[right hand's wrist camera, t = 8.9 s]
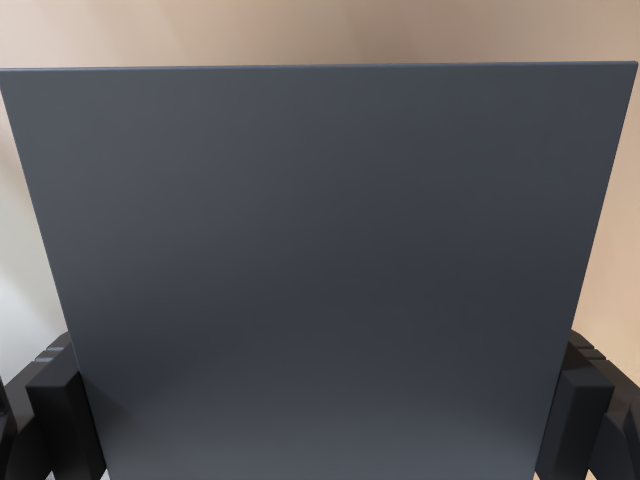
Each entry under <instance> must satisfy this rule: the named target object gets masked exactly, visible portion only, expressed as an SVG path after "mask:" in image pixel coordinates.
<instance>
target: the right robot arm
mask: <svg viewBox="0 0 640 480" xmlns="http://www.w3.org/2000/svg"><path fill="white" fill-rule="evenodd" d="M106 469H107V466H106V463H105V459H104V456H103V452H102V449H101V445H100V442H99V438H98V434H97V431H96V427H95V424H94V420H93V417H92V413H91V410H90V406H89V403H88V399H87V395H86V392H85V388H84V385H83V381H82V378H81V374H80V371H79V367H78V363H77V360H76V356H75V353H74V349H73V346H72V342H71V339H70V335H69V331H68V332H66V333H64V334H62V335H60V336H59V337H58V338H57V339H56V340H55V341H54V342H53V343H52V344H51V345H49V346H48V347H47V348H46V351H43V352H42V353H41V354H40V355H38V356H37V357H36V358H35V361H34V362H31V363H30V364H29V365H27V366H26V367H25V368H24V369H23V370H22V371H21V372H20V373H19V374H18V375H16V376H15V377H14V378H13V379H12V380H11V381H10V382H9V383H8V384H7V385H5V386H4V385H3V382H2V380H1V377H0V480H45V479H46V478H47V476H48V475H49V473H50V472H51V471H53V474H54V477H55V480H100V479H101V477H102V476H103V474H104V472H105V470H106ZM588 469H589V470H590V471H591V472H592V474H593V475H594V476H595V478H596V479H597V480H640V388H639V387H638V386H637V385H636V384H635V383H634V382H633V381H631V380H630V379H629V378H628V377H627V376H626V375H625V374H624V373H623V372H622V371H620V370H619V369H618V368H617V367H616V366H615V365H614V364H613V363H612V362H610V361H609V360H606V357H605V356H604V355H603V354H602V353H600V352H599V351H598V350H597V349H594V346H593V345H592V344H591V343H589V342H588V341H587V340H586V339H585V338H584V337H583V336H582V335H581V334H579V333H577V332H575V331H573V330H572V329H571V332H570V336H569V340H568V344H567V347H566V351H565V355H564V359H563V363H562V367H561V371H560V375H559V379H558V383H557V387H556V391H555V395H554V399H553V402H552V406H551V410H550V414H549V418H548V422H547V426H546V430H545V434H544V437H543V441H542V445H541V449H540V452H539V456H538V460H537V464H536V468H535V472H536V473H537V475H538V477H539V479H540V480H585V478H586V475H587V472H588Z"/></svg>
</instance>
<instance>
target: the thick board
mask: <svg viewBox="0 0 640 480" xmlns="http://www.w3.org/2000/svg"><path fill="white" fill-rule="evenodd" d="M637 68H638V62H636V61H580V62H497V63H414V64H331V65H248V66H165V67H82V68H0V90H1V94H2V97H3V101H4V104H5V108H6V111H7V115H8V118H9V122H10V125H11V129H12V133H13V136H14V140H15V143H16V147H17V150H18V154H19V157H20V161H21V165H22V168H23V172H24V175H25V179H26V182H27V186H28V189H29V193H30V197H31V200H32V204H33V207H34V211H35V214H36V218H37V221H38V225H39V228H40V232H41V236H42V239H43V243H44V246H45V250H46V253H47V257H48V260H49V264H50V268H51V271H52V275H53V278H54V282H55V285H56V289H57V292H58V296H59V300H60V303H61V307H62V310H63V314H64V317H65V321H66V324H67V328H68V331H69V335H70V339H71V342H72V346H73V349H74V353H75V356H76V360H77V363H78V367H79V371H80V374H81V378H82V381H83V385H84V388H85V392H86V395H87V399H88V403H89V406H90V410H91V413H92V417H93V420H94V424H95V427H96V431H97V434H98V438H99V442H100V445H101V449H102V452H103V456H104V459H105V463H106V466H107V470H108V474H109V477H110V480H533V477H534V473H535V468H536V464H537V460H538V456H539V452H540V449H541V445H542V441H543V437H544V434H545V430H546V426H547V422H548V418H549V414H550V410H551V406H552V402H553V399H554V395H555V391H556V387H557V383H558V379H559V375H560V371H561V367H562V363H563V359H564V355H565V351H566V347H567V344H568V340H569V336H570V332H571V328H572V324H573V320H574V316H575V312H576V308H577V304H578V300H579V296H580V292H581V288H582V285H583V281H584V277H585V273H586V269H587V265H588V261H589V257H590V253H591V249H592V245H593V241H594V237H595V233H596V230H597V226H598V222H599V218H600V214H601V210H602V206H603V202H604V198H605V194H606V190H607V186H608V182H609V178H610V175H611V171H612V167H613V163H614V159H615V155H616V151H617V147H618V143H619V139H620V135H621V131H622V127H623V123H624V120H625V116H626V112H627V108H628V104H629V100H630V96H631V92H632V88H633V84H634V80H635V76H636V72H637Z"/></svg>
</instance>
